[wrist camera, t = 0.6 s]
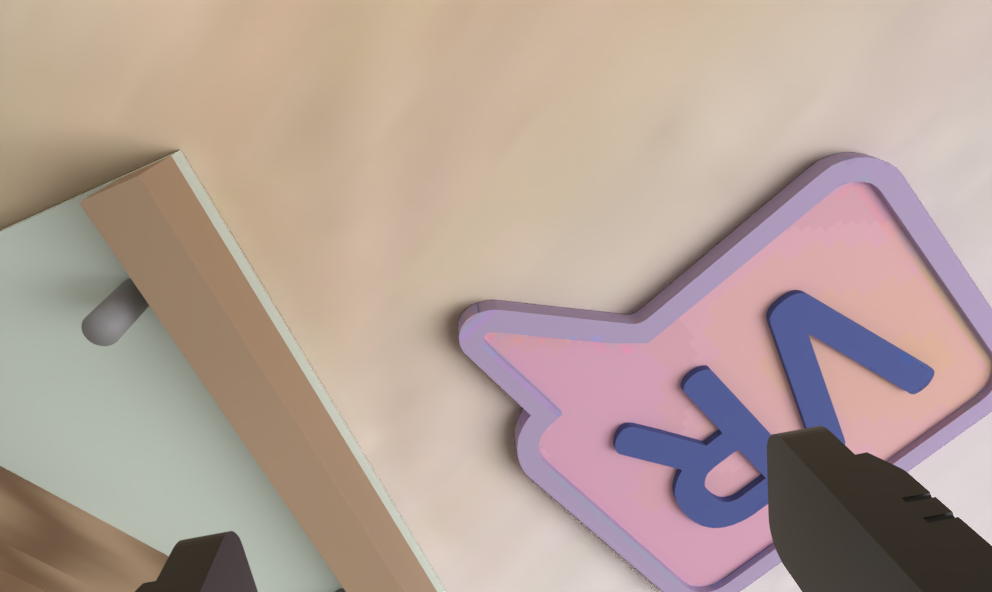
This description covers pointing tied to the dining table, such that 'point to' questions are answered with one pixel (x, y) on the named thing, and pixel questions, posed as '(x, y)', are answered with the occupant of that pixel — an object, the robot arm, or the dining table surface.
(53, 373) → the wall panel
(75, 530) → the frame
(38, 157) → the dining table surface
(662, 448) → the icon
